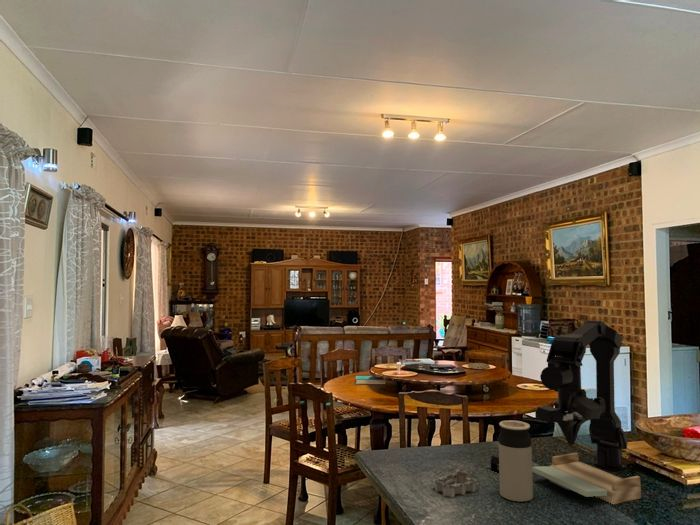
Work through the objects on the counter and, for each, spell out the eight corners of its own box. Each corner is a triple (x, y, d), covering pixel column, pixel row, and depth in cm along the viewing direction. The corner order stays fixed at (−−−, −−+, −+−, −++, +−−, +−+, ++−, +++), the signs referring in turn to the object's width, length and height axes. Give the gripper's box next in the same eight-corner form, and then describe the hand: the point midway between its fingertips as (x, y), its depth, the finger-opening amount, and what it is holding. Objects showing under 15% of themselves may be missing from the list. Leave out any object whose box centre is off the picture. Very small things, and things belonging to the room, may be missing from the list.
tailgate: (551, 466, 136) (532, 466, 133) (607, 490, 119) (586, 491, 117) (551, 472, 136) (531, 473, 133) (607, 498, 119) (585, 499, 116)
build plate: (525, 475, 139) (525, 459, 139) (511, 481, 134) (510, 464, 134) (489, 463, 148) (488, 448, 149) (474, 469, 144) (474, 453, 144)
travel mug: (529, 505, 118) (527, 430, 119) (496, 498, 122) (494, 425, 123) (535, 493, 125) (533, 422, 126) (504, 487, 129) (502, 418, 130)
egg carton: (463, 482, 133) (463, 467, 133) (481, 492, 126) (480, 476, 126) (430, 488, 129) (430, 472, 129) (446, 499, 122) (446, 482, 122)
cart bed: (576, 470, 140) (576, 452, 141) (641, 498, 122) (640, 476, 122) (550, 476, 137) (549, 457, 137) (612, 504, 118) (611, 482, 118)
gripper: (566, 393, 117) (568, 459, 116) (621, 387, 124) (624, 449, 123) (533, 385, 128) (534, 445, 127) (585, 379, 135) (587, 437, 134)
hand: (571, 444), depth 127 cm, fingers closed
